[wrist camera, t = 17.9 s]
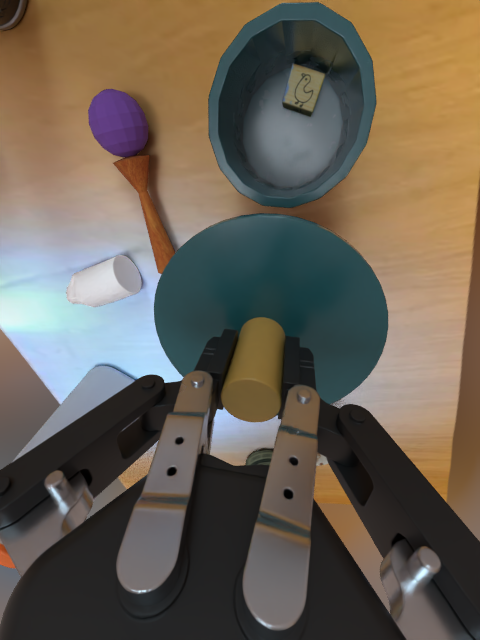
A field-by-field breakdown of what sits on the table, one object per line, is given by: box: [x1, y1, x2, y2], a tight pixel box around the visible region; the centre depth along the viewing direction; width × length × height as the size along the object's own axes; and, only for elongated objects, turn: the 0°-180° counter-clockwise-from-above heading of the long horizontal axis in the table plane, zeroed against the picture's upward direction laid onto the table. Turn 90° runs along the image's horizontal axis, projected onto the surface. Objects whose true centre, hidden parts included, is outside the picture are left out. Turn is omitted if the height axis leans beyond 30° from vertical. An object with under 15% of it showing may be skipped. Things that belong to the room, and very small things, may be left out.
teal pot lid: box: [154, 213, 388, 422], centre depth 14 cm, size 13×13×6 cm
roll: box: [66, 255, 142, 307], centre depth 42 cm, size 6×12×6 cm, turn 112°
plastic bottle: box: [0, 366, 137, 568], centre depth 46 cm, size 15×15×28 cm
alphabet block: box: [282, 63, 325, 117], centre depth 26 cm, size 3×3×3 cm
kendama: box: [88, 89, 175, 274], centre depth 34 cm, size 6×6×20 cm
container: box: [208, 2, 376, 208], centre depth 25 cm, size 12×12×12 cm
